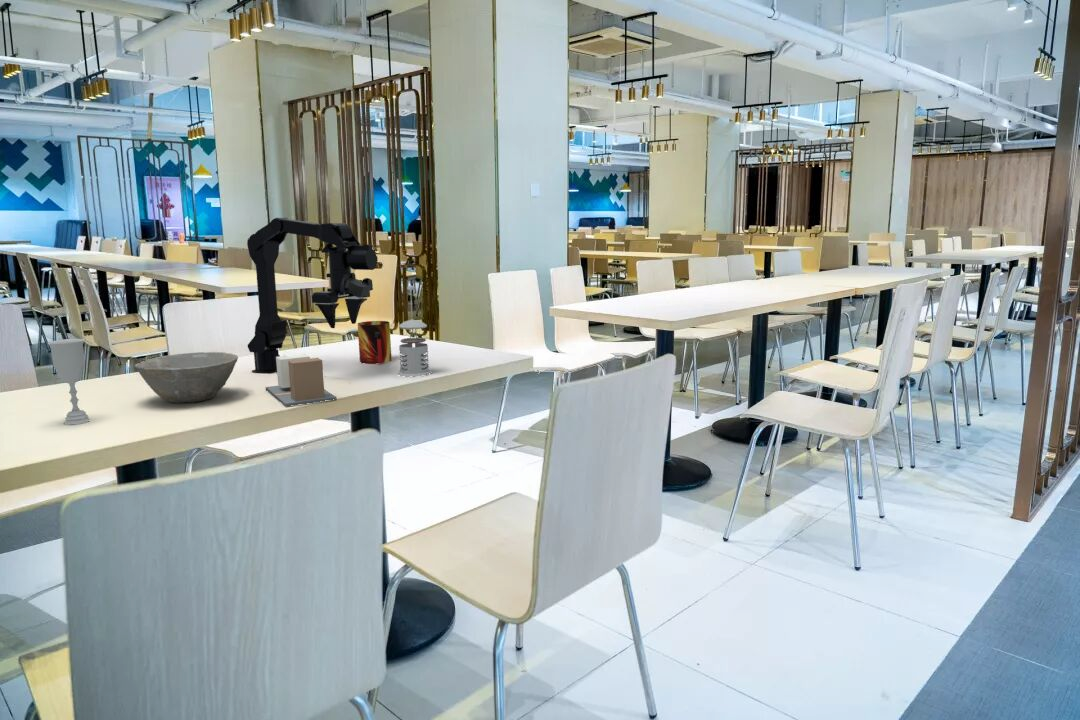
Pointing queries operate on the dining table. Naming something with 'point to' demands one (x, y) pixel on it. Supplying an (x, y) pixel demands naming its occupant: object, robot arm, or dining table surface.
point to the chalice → (70, 372)
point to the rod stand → (303, 384)
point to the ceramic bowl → (187, 375)
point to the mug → (374, 342)
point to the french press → (413, 349)
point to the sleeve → (286, 368)
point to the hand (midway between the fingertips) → (343, 325)
